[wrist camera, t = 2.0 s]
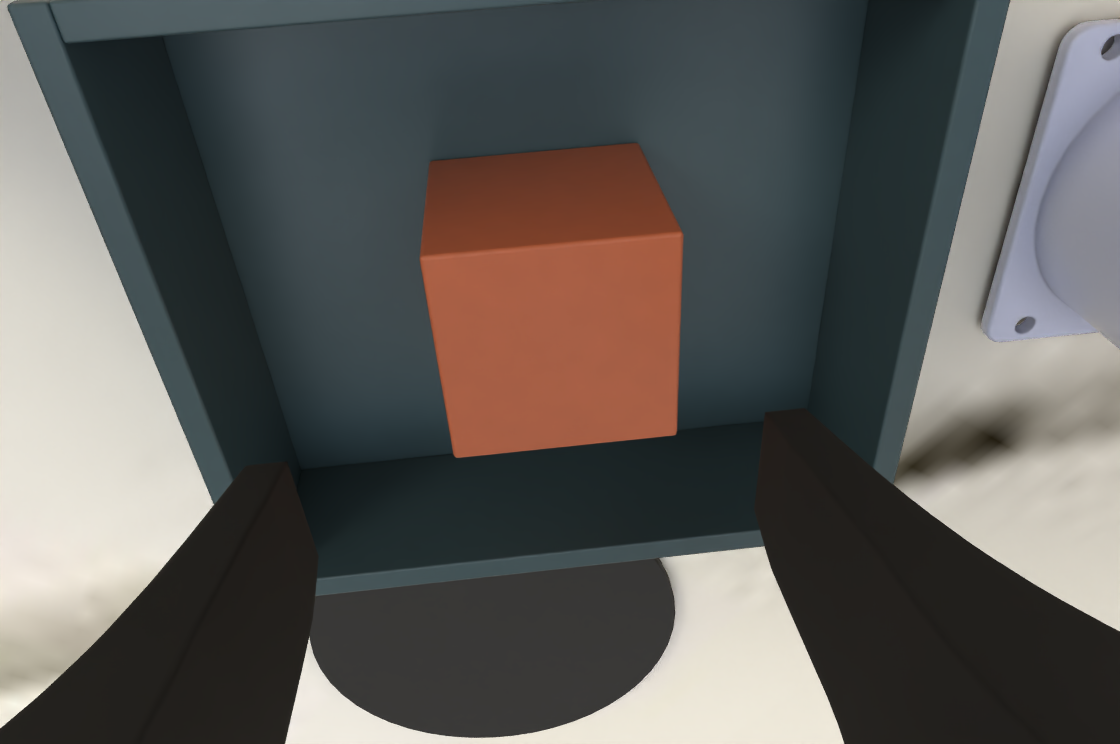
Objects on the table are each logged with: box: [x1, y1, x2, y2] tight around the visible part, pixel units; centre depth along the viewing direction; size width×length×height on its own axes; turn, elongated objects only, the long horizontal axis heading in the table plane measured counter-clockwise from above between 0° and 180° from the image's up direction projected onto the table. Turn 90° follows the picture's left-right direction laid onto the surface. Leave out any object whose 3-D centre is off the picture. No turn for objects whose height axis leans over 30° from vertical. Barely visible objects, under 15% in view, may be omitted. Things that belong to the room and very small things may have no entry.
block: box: [419, 143, 683, 458], centre depth 17 cm, size 5×5×5 cm
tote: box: [7, 0, 1010, 596], centre depth 18 cm, size 15×13×4 cm
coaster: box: [310, 558, 675, 738], centre depth 27 cm, size 12×12×1 cm
